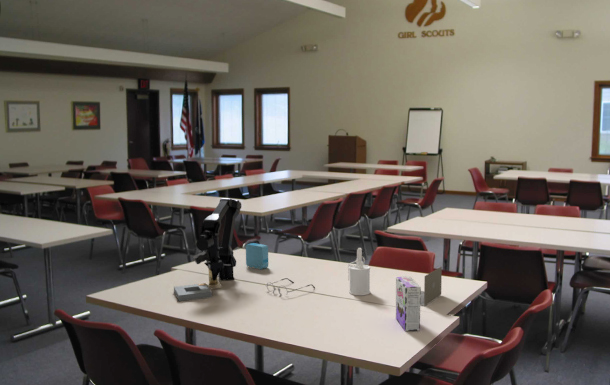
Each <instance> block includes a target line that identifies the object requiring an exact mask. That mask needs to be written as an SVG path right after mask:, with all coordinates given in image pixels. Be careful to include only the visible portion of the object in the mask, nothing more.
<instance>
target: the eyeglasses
mask: <svg viewBox="0 0 610 385" xmlns="http://www.w3.org/2000/svg"><path fill="white" fill-rule="evenodd" d="M284 280H288V281H290V282H291V283H292V284H295V282H294V281H293V280H291V279H289V278H287V277H286V278H282V279H280V280H276V281H274V282H270V281H268V282H267V283H266V285H265V287H266V288H267V291H268V292H271V291H270V289H269V286H272V288H273V291H272V294H274V293H275V292H276V291H278V294H279V295H280V296H283V294H282V293H281V286H275V285H274V284H275V283H278V282H281V281H284ZM310 286H312V288H313V289H315V285H313V284H307V285H305V286H301V287H299V288H295V289H293V290H288V289H287V287H286V286H285V285H283V287H284V288H285V290H286V294H288V293H292V292H294V291H297V290H300V289H303V288H307V287H310Z"/></svg>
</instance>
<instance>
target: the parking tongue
mask: <svg viewBox="0 0 610 385" xmlns="http://www.w3.org/2000/svg"><path fill="white" fill-rule="evenodd" d="M205 284H206V285H207V286H208V288H209V289H210V290H215V289H216V290H217V289H222V284H221V282H220V281H218V284H217V285H209V282H205Z"/></svg>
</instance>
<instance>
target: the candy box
mask: <svg viewBox="0 0 610 385" xmlns="http://www.w3.org/2000/svg"><path fill="white" fill-rule="evenodd" d="M421 291H422V287H421V285H420V284H418V283H417V282H416V281H415V280H414V279H413V278H412V277H411V276H396V277H395V320H396V321H397V322H398V323H399V325H400V326H401V328H402V329H403V330H404V332H420V331H421V305H420V301H421Z"/></svg>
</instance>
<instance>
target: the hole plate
mask: <svg viewBox="0 0 610 385" xmlns="http://www.w3.org/2000/svg"><path fill="white" fill-rule="evenodd" d="M173 292H174V294H175V296H176V298H177V300H178V301H179V302H184V301H190V300H191V301H192V300H199V299H207V298H208V299H209V298H212V297H213V292H212V289H209V288H208V286H207V285H206V282H205V283H204V282H203V283H196V284H186V285H176V286H173Z"/></svg>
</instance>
